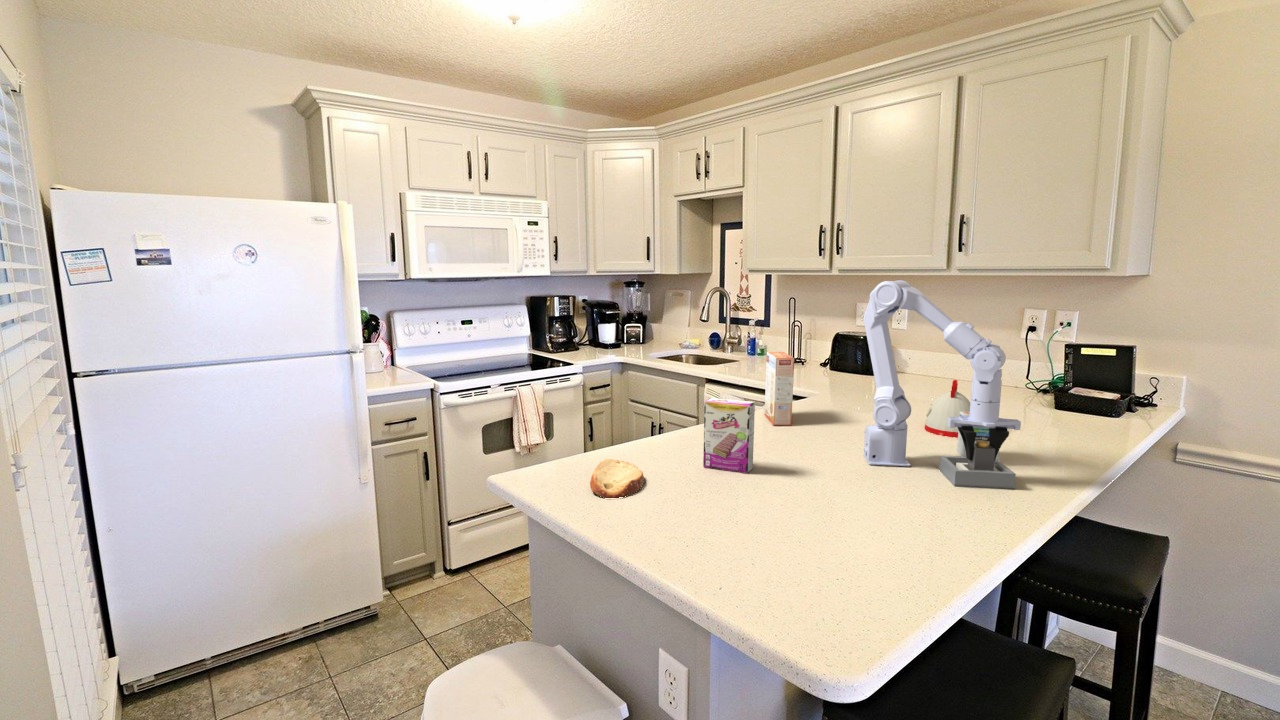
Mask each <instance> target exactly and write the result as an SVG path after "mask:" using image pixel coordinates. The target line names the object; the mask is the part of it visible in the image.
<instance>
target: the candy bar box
mask: <svg viewBox="0 0 1280 720" xmlns="http://www.w3.org/2000/svg"><path fill="white" fill-rule="evenodd" d="M755 412H756V402H755V401H748V400H737V399H730V398H729V399H726V398H722V397H721V398H719V397H718V398H717V397H710V398H708V399H706V400H705V401H704V414H703V415H704V417H703V419H704V421H703V458H702V459H703V463H702V465H703V466H702V467H703V468H709V469H715V470H723V471H729V472H736V473H741V474H749V473H750V471H752V469H753V468H754V446H755V445H754V440H755V414H756V413H755ZM748 472H749V473H748Z"/></svg>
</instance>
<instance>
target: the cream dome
mask: <svg viewBox="0 0 1280 720" xmlns="http://www.w3.org/2000/svg"><path fill="white" fill-rule="evenodd" d="M951 383H952V385H951V390H950V391H947V392H944V393H943V394H941V395H940V396H939V397H938V398H937V399H936V400H935V401H934V402H933V404H932V403H931V404H930V405H929V407H928V409H927V413H926V418H925V424H924V430H925V431H926V432H928V433H930V434H932V433H933V435H936V436H940V435H941V436H942V437H945V436H947V438H954V437H955V438H957V439H958V431H959V430H958V427H955V428H950V427H948V426H947V418H948V417H959V414H960V412H970V401H971V400H969V399H968V398H967V397H966V396H965V395H964V394H963V393H961V392H960V391H958V384H959V383H958V380H957V379H953V380H952V382H951ZM955 438H954V439H955Z"/></svg>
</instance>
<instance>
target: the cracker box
mask: <svg viewBox="0 0 1280 720" xmlns="http://www.w3.org/2000/svg"><path fill="white" fill-rule="evenodd" d="M765 366H766V367H765V389H764V390H765V395H764V416H765V417H766V418H767V419H768V421H769V422H770V423H771V424H772V425H773V426H786V427H787V426H789V427H790V426H792V417H793V414H792V413H793V395H794V375H795V373H794V371H795V369H794V368H795V357H793V356H792V355H789V354H788V353H786V352H785V351H767V352H766V365H765Z"/></svg>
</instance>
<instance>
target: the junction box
mask: <svg viewBox="0 0 1280 720" xmlns="http://www.w3.org/2000/svg"><path fill="white" fill-rule="evenodd" d="M939 470H940V471H939ZM938 471H939V472H940V473H941V474H942V475H943V476H944V477H945V479H947V480H948V481H949V482H950V483H951V484H952V486H953V487H960V488H961V487H962V488H978V489H995V490H996V489H997V490H999V489H1002V490H1015V485H1016V473H1015V472H1014V471H1013V470H1011V469H1010V468H1008V467H1007V465H1005V464H1003V462H1001V461H1000V460H997V459H995V461H994V470H993V471H983V470H973V469H972V468H971V467H970V466H969V465H968V458H966V457H962V456H958V455H957V456H956V455H954V456H952V455H939V463H938Z"/></svg>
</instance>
